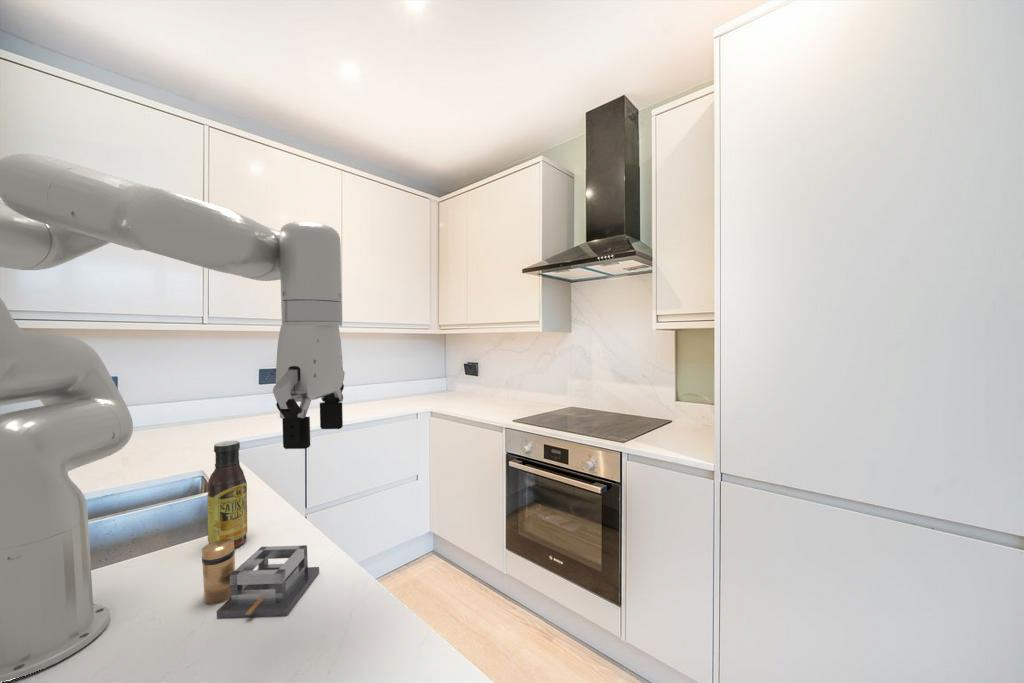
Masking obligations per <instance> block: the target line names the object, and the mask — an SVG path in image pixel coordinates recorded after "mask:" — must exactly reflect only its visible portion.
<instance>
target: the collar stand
mask: <svg viewBox="0 0 1024 683" xmlns="http://www.w3.org/2000/svg"><path fill="white" fill-rule="evenodd" d="M269 559H270V560H271V559H272V560H275V559H276V560H277V559H287V560H286V561H284V563H271V564H270V563H269ZM257 567H258V568H257ZM255 568H257V569H256V570H255ZM319 573H320V566H310V567H309V564H308V545H307V544H306V545H279V546H278V545H276V546H274V545H273V546H271V545H270V546H260V547H259V548H258V549H257V550H256V551H255V552H254V553H253V554H252V555H251V556H250V557H248V558H247V559H246V560H245V561H243V563H242V564H240V565H239V566H238V567H237V568H235V571H234V572H233V573H232V574H231V575H230V588H231V598H229V599H227V600H226V602H224V604H222V606H221V607H219V608H218V609H217V610H216V619H230V618H231V619H232V618H235V619H237V618H262V617H263V618H264V617H284V616H285V617H287V616H288V615H289V613H290V612H291V611H292V609H293V608H294V607H295V606H296V604H297V603H298V601H299V600H300V599H301V598H302V597H303V595H304V594H305V592H306V591H307V590H308V589H309V587H310V585H312V583H313V582H314V580H315V579H316V578H317V576H318V575H320V574H319Z"/></svg>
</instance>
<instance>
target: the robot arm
mask: <svg viewBox="0 0 1024 683" xmlns="http://www.w3.org/2000/svg"><path fill="white" fill-rule="evenodd" d="M0 202H1V203H2V204H0V268H5V269H12V270H18V271H41V270H49V269H52V268H56V267H57V266H61V265H62V264H65V263H67V262H70V261H72V260H75V259H76V258H79V257H80V256H83V255H85V254H88V253H91V252H93V251H96V250H97V249H100V248H102V247H104V246H106V245H109V244H115V245H117V246H122V247H125V248H129V249H132V250H133V251H146V252H149V253H152V254H157V255H160V256H163V257H167V258H170V259H174V260H177V261H181V262H185V263H187V264H191V265H194V266H198V267H201V268H204V269H207V270H211V271H215V272H221V273H222V274H223V273H224V274H229V275H234V276H237V277H238V276H239V277H242V278H246V279H251V280H254V281H262V282H272V281H273V282H274V281H279V280H280V301H281V302H280V303H281V305H280V306H281V307H280V308H281V310H280V311H281V325H280V329H279V334H278V340H277V349H276V350H277V351H276V363H275V364H276V365H275V366H276V367H275V368H276V370H275V385H274V386H273V388H272V394H273V396H274V398H275V400H276V401H275V402H276V403H275V404H276V405H275V406H276V408H277V410H278V411H279V418H280V419H282V446H283V449H285V450H299V449H300V450H305V449H306V450H307V449H308V448H310V446H311V421H310V420H311V419H310V417H311V416H307V414H308V410H309V408H310V405H311V402H312V401H315V400H318V399H320V398H321V401H322V402H319V425H320V429H321V430H340V429H342V428H343V425H344V424H343V422H344V421H343V416H344V414H343V401H344V394H343V391H344V389H345V388H344V387H345V385H344V381H345V374H346V373H345V370H344V369H343V368H344V366H343V363H344V362H343V348H342V341H341V332H340V326H341V327H342V326H343V303H342V302H343V301H342V300H343V298H342V293H343V292H342V256H341V255H342V254H341V253H342V250H341V249H342V248H341V246H342V245H341V237H340V234H339V233H338V231H337V230H336V229H334V228H333V227H331V226H329V225H326V224H322V223H319V222H311V221H295V222H294V221H293V222H288V223H286V224H284V225H283V226H282V227H281V229H280V230H277V229H274V228H271V227H268V226H266V225H263V224H261V223H259V222H257V221H255V220H254V219H251V218H249V217H247V216H245V215H243V214H242V213H238V212H236V211H234V210H230V209H228V208H225V207H222V206H220V205H215V204H212V203H210V202H206V201H203V200H200V199H197V198H193V197H190V196H186V195H183V194H179V193H176V192H173V191H169V190H166V189H161V188H157V187H154V186H150V185H145V184H142V183H139V182H138V183H137V182H134V181H131V180H128V179H125V178H123V177H122V178H121V177H117V176H115V175H112V174H108V173H104V172H101V171H99V170H96V169H92V168H89V167H86V166H82V165H78V164H75V163H72V162H69V161H65V160H64V159H63V160H62V159H58V158H54V157H51V156H48V155H47V156H46V155H42V154H35V153H18V154H17V153H16V154H10V155H7V156H4V157H1V158H0ZM39 400H40V401H41V403H42V404H43V405H42V406H36V407H31V408H24V409H21V410H20V409H19V410H15V411H14V410H13V411H10V412H6V413H2V414H0V682H1V681H2V682H4V681H6V680H10V679H13V678H18V677H22V676H25V675H28V674H30V675H32V674H31V673H33V674H34V672H35V673H37V672H36V671H38V672H40V671H42V669H43V670H45V669H47V668H49V667H51V666H53V665H55V664H58V663H60V662H61V661H64V660H65V659H66V658H69V657H70V656H72V655H73V654H75V653H78V652H79V651H80V650H81V649H83V648H84V647H86V646H87V645H88V644H90V643H92V642H93V641H94V640H95V639H96V638H97V637H99V635H101V634H102V632H104V630H105V629H106V628H107V626H108V624H109V623H110V619H111V615H110V614H111V613H110V609H109V607H107V606H105V605H103V604H97V603H95V604H94V599H93V598H94V597H93V582H92V581H93V580H92V563H91V562H92V561H91V551H90V550H91V548H90V546H91V545H90V533H89V530H90V529H89V515H88V505H87V500H86V498H85V495H84V492H82V490H81V489H80V488H79V486H78V485H76V484H75V483H74V482H73V480H72V479H71V478H70V476H69V473H68V472H70V471H72V470H75V469H78V468H81V467H84V466H86V465H90V464H91V463H94V462H97V461H99V460H102V459H105V458H107V457H110V456H112V455H114V454H116V453H118V452H120V451H121V450H122V449H123V448H125V446H126V445H128V443H129V441H130V440H131V438H132V435H133V430H134V424H133V417H132V415H131V412H130V409H129V408H128V406H127V403H126V402H125V400H124V397H122V394H121V393H120V391H119V389H118V387H117V385H116V383H115V381H114V379H113V377H112V376H111V374H110V373H109V371H108V369H107V367H106V365H105V362H103V360H102V358H101V356H100V355H99V354H98V352H96V351H95V349H94V348H93V347H91V345H89V344H88V343H87V342H84V341H83V340H82V339H79V338H77V337H74V336H71V335H69V334H62V333H50V332H49V333H45V332H44V333H42V332H41V333H39V332H38V333H30V332H27V331H24V330H22V329H21V327H20V326H19V325H18V323H17V322H16V321H15V319H14V318H13V316H12V314H11V313H10V311H9V309H8V306H7V304H5V302H4V301H3V299H2V298H1V297H0V407H1V406H2V407H3V406H7V405H8V406H9V405H14V404H18V403H19V404H20V403H21V404H22V403H27V402H32V401H39ZM298 403H300V404H299V405H298ZM39 670H40V671H39ZM28 676H29V675H28ZM25 677H26V676H25ZM22 678H23V677H22Z"/></svg>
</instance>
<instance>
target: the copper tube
mask: <svg viewBox="0 0 1024 683" xmlns="http://www.w3.org/2000/svg"><path fill="white" fill-rule="evenodd" d="M235 550H236V548H235V547H234V540H233V539H221V540H217V541H214V542H212V543H209V542H208V544H206V545H204V546H203V547H202V550H201V563H202V576H203V578H202V579H203V580H202V581H203V597H204V604H206V605H216V604H220V603H223V602H225V601H226V602H227V601H228V600H229V599H230V598H231V588H230V575H231V574H232V573H233V572H234V571H235V570H236V558H235V557H236V556H235V554H236V553H235V552H236V551H235Z"/></svg>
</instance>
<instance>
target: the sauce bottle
mask: <svg viewBox="0 0 1024 683" xmlns="http://www.w3.org/2000/svg"><path fill="white" fill-rule="evenodd" d="M240 448H241V444H240V441H239V440H229V441H228V440H227V441H221V442H218V443H215V444H214V446H213V452H214V453H215V463H214V470H213V472H212V473H211V474H210V477H209V479H208V481H207V492H208V493H207V497H206V499H207V542H208V544H209V543H212V542H214V541H217V540H221V539H233V540H234V547H235V549H236V548H237V547H239V546H241V545H242V544H244V543H245V542H246V541H247V538H248V536H247V533H248V492H247V491H248V485H247V479H246V476H245V472H244V470H243V469H242V467H241V465H240V454H239V452H240Z"/></svg>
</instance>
